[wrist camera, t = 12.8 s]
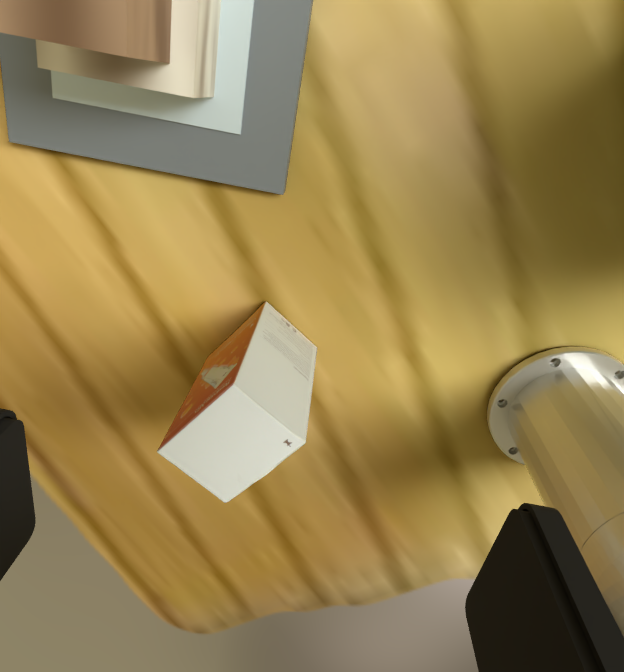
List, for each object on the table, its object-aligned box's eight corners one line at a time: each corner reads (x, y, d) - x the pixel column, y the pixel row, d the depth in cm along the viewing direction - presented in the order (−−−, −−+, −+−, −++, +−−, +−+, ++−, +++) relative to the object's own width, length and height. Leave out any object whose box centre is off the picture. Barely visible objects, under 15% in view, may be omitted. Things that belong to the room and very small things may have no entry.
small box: (265, 298, 40) (233, 382, 29) (319, 347, 42) (309, 444, 30) (205, 356, 43) (153, 453, 32) (257, 399, 45) (226, 506, 33)
